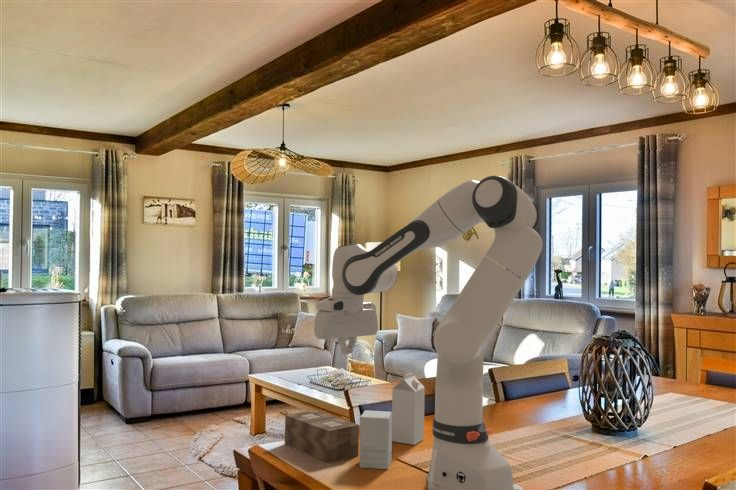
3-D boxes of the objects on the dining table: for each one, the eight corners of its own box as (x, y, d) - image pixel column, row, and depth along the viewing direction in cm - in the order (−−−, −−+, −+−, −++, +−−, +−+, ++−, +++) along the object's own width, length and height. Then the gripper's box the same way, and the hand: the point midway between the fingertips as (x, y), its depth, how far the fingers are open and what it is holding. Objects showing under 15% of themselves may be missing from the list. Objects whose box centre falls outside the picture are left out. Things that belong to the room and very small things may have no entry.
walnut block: (358, 455, 161) (359, 424, 161) (327, 462, 155) (328, 430, 155) (314, 438, 176) (314, 409, 176) (284, 444, 170) (285, 415, 170)
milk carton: (391, 441, 174) (392, 374, 175) (401, 435, 180) (402, 370, 181) (414, 445, 171) (415, 377, 171) (424, 439, 177) (425, 373, 178)
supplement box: (392, 460, 157) (393, 411, 158) (387, 470, 150) (388, 418, 150) (363, 458, 159) (364, 409, 159) (358, 467, 151) (359, 416, 152)
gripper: (368, 301, 178) (367, 349, 177) (311, 303, 164) (310, 355, 163) (383, 302, 173) (382, 351, 172) (325, 305, 159) (325, 358, 159)
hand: (347, 353), depth 168 cm, fingers closed
